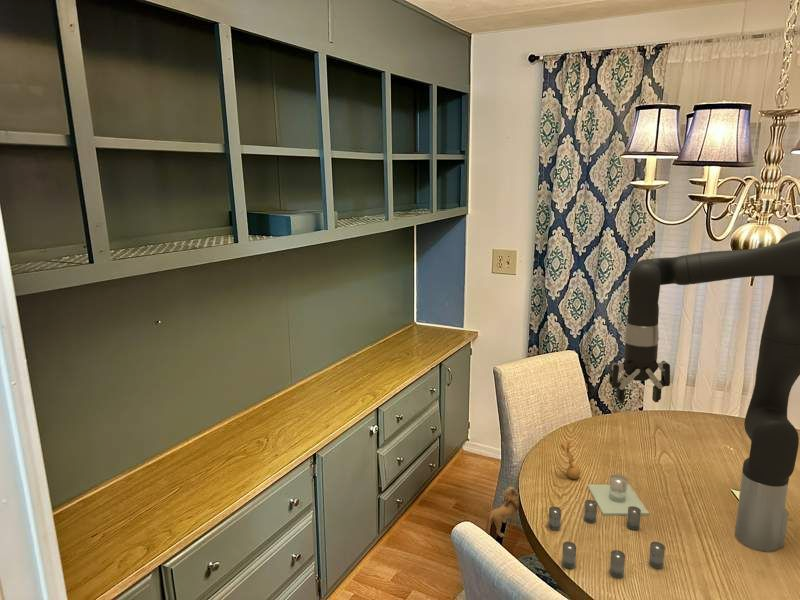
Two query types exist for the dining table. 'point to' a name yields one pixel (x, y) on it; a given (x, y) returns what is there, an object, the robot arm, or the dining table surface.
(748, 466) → the robot arm
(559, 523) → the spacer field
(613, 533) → the dining table surface
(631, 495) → the sage mat
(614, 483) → the clear rounded cylinder
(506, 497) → the lion figurine
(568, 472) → the figurine
